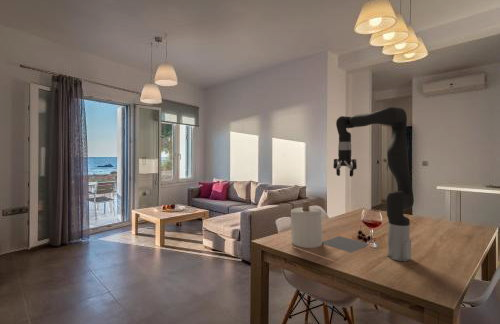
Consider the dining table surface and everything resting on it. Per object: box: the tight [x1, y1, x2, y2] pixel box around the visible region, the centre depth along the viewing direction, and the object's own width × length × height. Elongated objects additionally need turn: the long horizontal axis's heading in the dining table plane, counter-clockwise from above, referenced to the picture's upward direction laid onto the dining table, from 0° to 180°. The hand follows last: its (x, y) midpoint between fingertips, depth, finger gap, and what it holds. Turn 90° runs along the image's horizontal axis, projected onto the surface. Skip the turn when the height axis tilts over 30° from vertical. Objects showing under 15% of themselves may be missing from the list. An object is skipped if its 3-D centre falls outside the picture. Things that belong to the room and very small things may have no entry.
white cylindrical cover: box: [290, 200, 323, 249], centre depth 158 cm, size 17×17×24 cm
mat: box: [322, 235, 371, 254], centre depth 156 cm, size 20×20×1 cm
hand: (344, 176), depth 167 cm, fingers open, 8 cm apart
